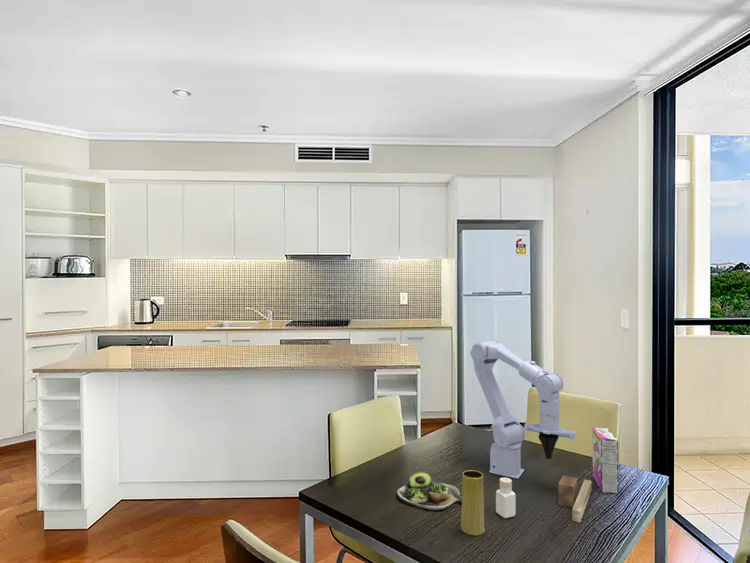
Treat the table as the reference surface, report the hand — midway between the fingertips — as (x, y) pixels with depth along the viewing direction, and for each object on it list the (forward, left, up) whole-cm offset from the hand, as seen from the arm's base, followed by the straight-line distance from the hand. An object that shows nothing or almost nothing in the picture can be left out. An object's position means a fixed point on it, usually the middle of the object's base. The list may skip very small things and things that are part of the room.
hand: (548, 457), depth 143 cm
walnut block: (+7, -6, -10) cm, 13 cm away
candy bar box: (+14, +11, -10) cm, 21 cm away
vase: (-12, -35, -10) cm, 38 cm away
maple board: (+10, -6, -9) cm, 15 cm away
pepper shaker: (-7, -23, -10) cm, 26 cm away
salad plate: (-30, -24, -10) cm, 39 cm away
